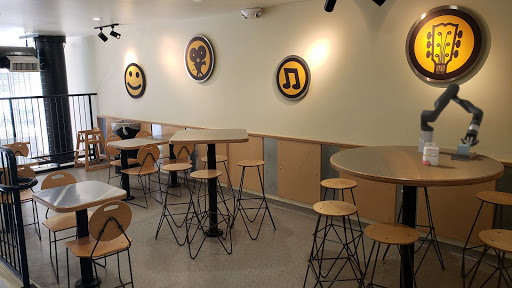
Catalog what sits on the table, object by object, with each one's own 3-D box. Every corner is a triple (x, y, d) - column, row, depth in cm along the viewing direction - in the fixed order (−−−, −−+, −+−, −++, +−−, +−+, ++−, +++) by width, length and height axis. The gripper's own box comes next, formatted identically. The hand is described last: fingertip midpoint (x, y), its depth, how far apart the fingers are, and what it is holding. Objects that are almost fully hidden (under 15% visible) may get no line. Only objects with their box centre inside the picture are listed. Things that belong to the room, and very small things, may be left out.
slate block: (459, 156, 284) (460, 143, 283) (468, 157, 280) (469, 144, 279) (456, 157, 278) (457, 145, 277) (465, 158, 274) (466, 146, 273)
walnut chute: (459, 155, 295) (459, 149, 294) (476, 157, 287) (477, 151, 286) (450, 159, 278) (450, 153, 277) (468, 161, 270) (469, 155, 269)
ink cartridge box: (424, 165, 259) (426, 143, 257) (422, 163, 264) (423, 142, 261) (438, 165, 258) (439, 143, 256) (435, 163, 263) (437, 142, 261)
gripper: (483, 135, 292) (477, 154, 284) (463, 134, 300) (457, 151, 293) (482, 129, 287) (476, 147, 280) (462, 128, 295) (456, 145, 288)
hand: (467, 149), depth 286 cm, fingers closed
